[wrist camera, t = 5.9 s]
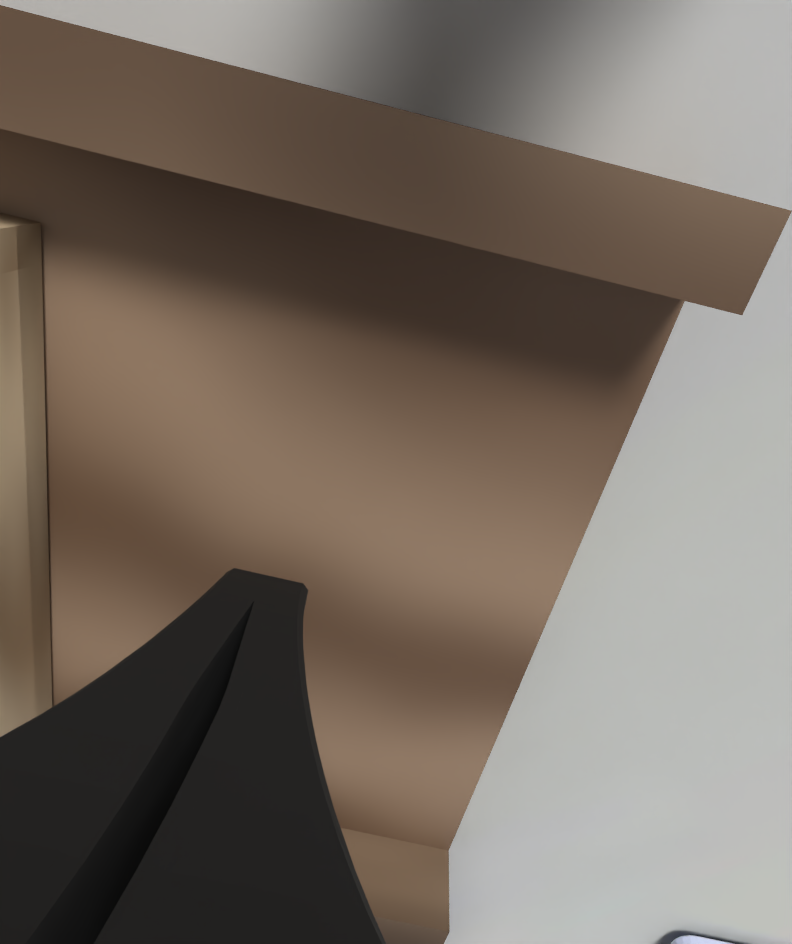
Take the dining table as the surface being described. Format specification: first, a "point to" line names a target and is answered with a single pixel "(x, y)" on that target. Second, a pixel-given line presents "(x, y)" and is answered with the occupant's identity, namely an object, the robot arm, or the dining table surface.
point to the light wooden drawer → (23, 480)
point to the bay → (338, 391)
